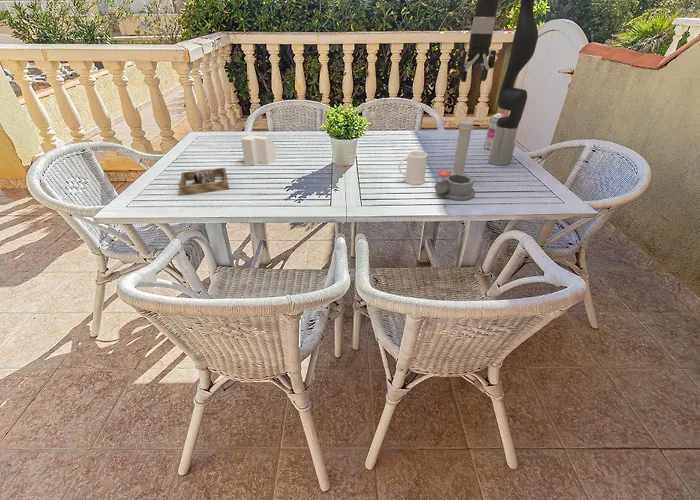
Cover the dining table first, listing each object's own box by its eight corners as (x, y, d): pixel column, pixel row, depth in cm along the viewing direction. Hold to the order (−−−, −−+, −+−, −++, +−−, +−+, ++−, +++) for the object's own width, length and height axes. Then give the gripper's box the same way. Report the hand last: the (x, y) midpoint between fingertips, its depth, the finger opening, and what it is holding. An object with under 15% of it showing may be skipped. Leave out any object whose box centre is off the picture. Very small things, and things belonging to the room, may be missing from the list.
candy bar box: (492, 150, 191) (500, 118, 182) (483, 149, 193) (490, 116, 184) (499, 145, 199) (506, 113, 189) (490, 143, 201) (497, 112, 192)
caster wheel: (205, 183, 163) (223, 183, 159) (185, 188, 153) (204, 188, 149) (202, 168, 161) (220, 168, 157) (182, 172, 151) (201, 172, 147)
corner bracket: (245, 163, 176) (240, 138, 169) (258, 156, 185) (255, 132, 178) (264, 167, 173) (260, 141, 166) (276, 159, 181) (274, 134, 175)
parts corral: (226, 174, 165) (225, 167, 163) (229, 189, 152) (227, 181, 150) (183, 180, 160) (181, 172, 158) (182, 195, 147) (180, 187, 145)
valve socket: (461, 183, 156) (465, 161, 151) (481, 197, 145) (487, 174, 140) (426, 189, 152) (429, 167, 146) (444, 204, 141) (448, 180, 135)
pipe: (463, 181, 159) (477, 108, 142) (448, 180, 160) (460, 108, 143) (463, 176, 163) (476, 105, 146) (448, 175, 164) (459, 104, 147)
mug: (398, 185, 156) (400, 157, 149) (396, 177, 163) (398, 150, 156) (426, 185, 156) (429, 157, 149) (423, 177, 163) (426, 150, 156)
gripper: (492, 31, 136) (483, 79, 145) (458, 31, 132) (451, 80, 141) (505, 32, 130) (495, 82, 139) (470, 32, 126) (462, 83, 135)
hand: (473, 81), depth 140 cm, fingers open, 8 cm apart
